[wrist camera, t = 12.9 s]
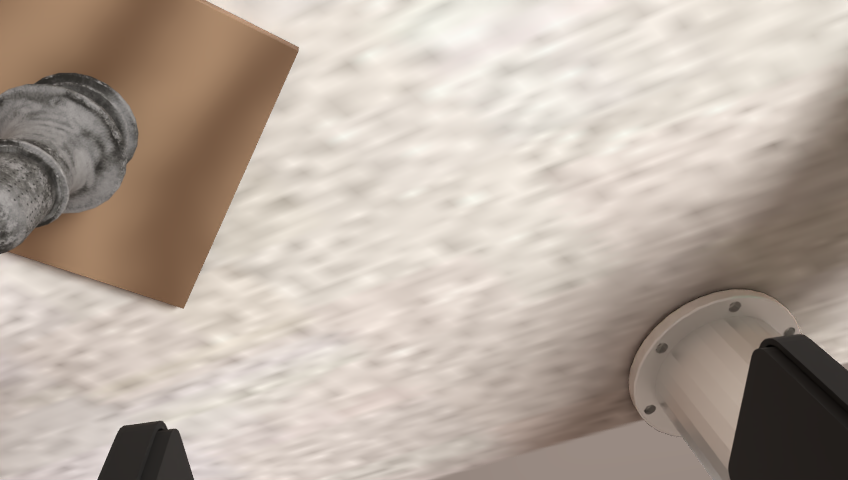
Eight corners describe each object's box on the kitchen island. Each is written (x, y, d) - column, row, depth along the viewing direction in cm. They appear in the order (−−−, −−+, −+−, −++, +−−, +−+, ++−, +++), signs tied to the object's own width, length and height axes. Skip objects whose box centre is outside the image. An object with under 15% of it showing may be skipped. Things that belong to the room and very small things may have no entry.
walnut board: (298, 47, 31) (298, 51, 30) (186, 299, 37) (183, 308, 36) (-68, -137, 26) (-81, -139, 25) (-137, 192, 31) (-150, 200, 30)
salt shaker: (121, 57, 29) (16, 136, 19) (160, 174, 32) (87, 301, 21) (-11, 75, 29) (-196, 168, 18) (40, 193, 31) (-95, 332, 21)
